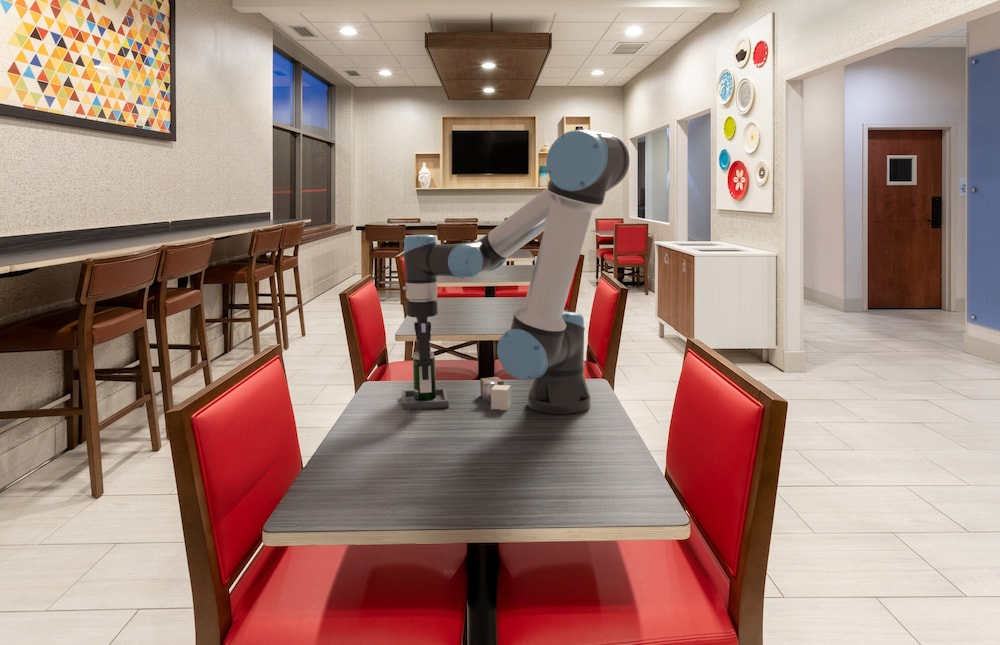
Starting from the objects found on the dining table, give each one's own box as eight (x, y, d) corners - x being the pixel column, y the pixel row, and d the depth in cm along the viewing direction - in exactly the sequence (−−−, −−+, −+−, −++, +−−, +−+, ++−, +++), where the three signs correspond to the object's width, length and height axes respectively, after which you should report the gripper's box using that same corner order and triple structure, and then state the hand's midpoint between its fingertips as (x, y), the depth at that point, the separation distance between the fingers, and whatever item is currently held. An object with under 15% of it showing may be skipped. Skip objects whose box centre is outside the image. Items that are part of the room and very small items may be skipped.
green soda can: (423, 405, 171) (421, 356, 168) (409, 400, 174) (408, 353, 172) (440, 400, 174) (439, 353, 172) (426, 395, 178) (425, 349, 176)
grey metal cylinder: (496, 399, 176) (496, 380, 175) (498, 404, 172) (498, 384, 171) (482, 400, 175) (482, 381, 174) (484, 404, 172) (483, 384, 171)
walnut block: (496, 393, 181) (496, 376, 180) (503, 398, 177) (503, 381, 176) (480, 395, 180) (480, 378, 179) (487, 400, 176) (487, 383, 175)
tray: (445, 394, 181) (445, 388, 180) (448, 407, 170) (448, 400, 170) (402, 396, 179) (402, 390, 179) (402, 409, 169) (402, 403, 168)
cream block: (510, 405, 171) (510, 385, 170) (507, 410, 167) (507, 390, 167) (494, 404, 172) (494, 384, 171) (491, 409, 168) (490, 389, 167)
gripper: (405, 292, 181) (408, 372, 185) (406, 308, 157) (410, 399, 161) (434, 291, 182) (437, 371, 186) (440, 307, 158) (443, 398, 162)
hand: (424, 384), depth 174 cm, fingers open, 13 cm apart
